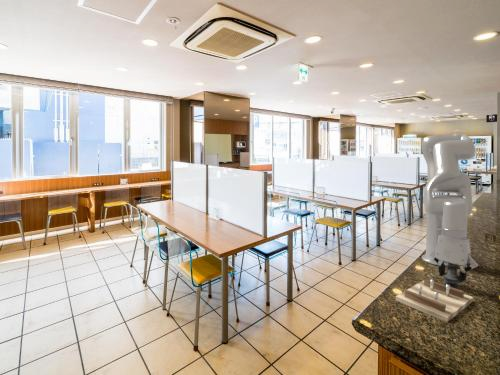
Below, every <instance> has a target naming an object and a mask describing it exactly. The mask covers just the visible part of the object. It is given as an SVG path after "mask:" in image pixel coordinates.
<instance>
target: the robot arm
mask: <svg viewBox="0 0 500 375" xmlns="http://www.w3.org/2000/svg"><path fill="white" fill-rule="evenodd" d="M421 153H422V156H423V158H424V160H425V163H426V165H427V182H426V184H425V186H424V189H423V204H424V210H425V213H426V234H425V235H426V236H425V239H426V240H425V254H422V255H421V259H422V261H424V262H426V263H427V264H432V265H435V266H438V274H439V276H440V277H443V274H444V273H446V267H447V265H448V263H452V264H456V265H457V266H458V267H459V268H460V271H459V273H458V274H459V275H458V276H459V283H463V282H464V281H466V280H467V272H469V271H471V270H473V269H475V268H478V266H479V264H478V263H477V262H476V261H475V259H474V258H472V256H471V244H470V239H469V237H467V234H468V232H467V230H468V217H469V216H471V214H472V213H473V208H474V207H473V194H472V184H471V178H470V176H469V175H468V174H467V173H464V172H461V171H460V165H459V161H461V160H462V161H464V160H467V161H468V160H471V159H473V158H474V157H475V154H476V147H475V142H474V141H473V140H472V139H471V137H469V136H468V135H467V134H465V133H447V134H446V133H444V134H433V135H428V136H425V137H424V138H423V139H422V141H421ZM433 193H437V194H434V195H433ZM438 193H440V194H438ZM441 193H442V194H441ZM454 194H456V195H454ZM467 264H470V265H468V266H467Z"/></svg>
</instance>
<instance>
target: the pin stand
mask: <svg viewBox="0 0 500 375" xmlns="http://www.w3.org/2000/svg"><path fill="white" fill-rule="evenodd" d="M395 302H399V303H401V304H403V305H406V306H409V307H410V308H413V309H416V310H417V311H420V312H421V313H424V314H427V315H430V316H431V317H434V318H436V319H439V320H441V321H443V322H446V323H448V322H450V320H452V319H453V318H454V317H456V316H457V315H458V314H460V313H461V312H462V311H463V310H465V308H466V307H468V306H469V305H470V304H472V303H473V302H474V296H471V295H468V294H465V290H461V289H459V288H458V289H455V288H452V287H450V285H448V284H446V285H444V284H443V283H440V282H437V281H435V280H434V279H432V278H431V279H428V278H426V279H424V280H422V281H419V282H418V283H416V284H415V285H413V286H412V287H411V286H410V288H408V289H406V290H404V291H402V292H400V293H399V294H397V295H396V296H395Z"/></svg>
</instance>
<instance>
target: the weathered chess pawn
mask: <svg viewBox="0 0 500 375" xmlns="http://www.w3.org/2000/svg"><path fill="white" fill-rule="evenodd" d="M446 268H447V271H446V272H445V273H444V274H443V276H442V277H443V280H444V282H442V284H443V285H446V284H448V285H450V287H452V288H455V289H458V290H459V289H461V288H460V287H461V286H460V284H459V283H460V282H459V275H458V270H459V266H458V265H456V264H452V263H448V265H447V266H446Z"/></svg>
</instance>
